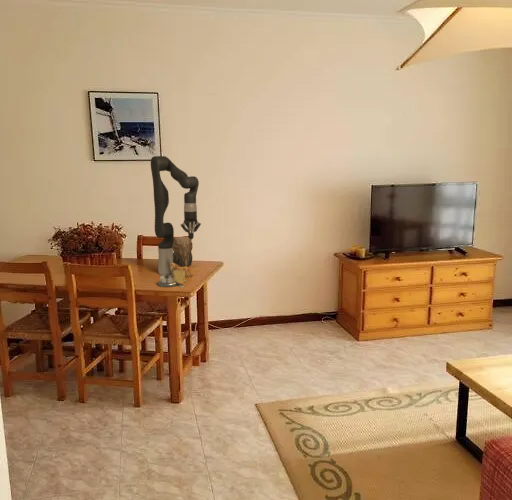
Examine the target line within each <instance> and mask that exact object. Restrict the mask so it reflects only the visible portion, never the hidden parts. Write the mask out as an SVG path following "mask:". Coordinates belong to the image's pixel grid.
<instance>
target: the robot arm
mask: <svg viewBox="0 0 512 500" xmlns="http://www.w3.org/2000/svg"><path fill="white" fill-rule="evenodd" d="M150 171H151V178H152V186H153V201H154V233H155V235H156V238H158V239H162V240H161V241H159V243H157V249H158V251H157V252H158V259H157V271H158V275H166V274H165V273H168V274H170V275H172V274H174V272H173V271H172V270H171V269H170V264H171V263H173V252H174V251H173V242H174V237H175V236H174V234H175V232H174V226H173V224H172V223H171V222H164V217H165V213H166V211H167V209H168V206H169V204H170V198H169V197H170V196H169V190H168V188H167V186H165V184H164V182H163V180H162V178H161V172H165V171H166V172H168V173H170V174H169V175H170V176H171V178H173V180H174V181H176V182H177V183H179V186H181V188H182V189H184V190H187V189H189V191H188V192H186V193H184V195H183V203H184V204H183V216H184V219H183V222H182V223H181V224H180V227H181V228H182V230H183V231H184V232H186V233H187V234H188V235H187V237H188V238H189V239H192V240H193V239H194V233H196V232H197V231H198V230H199V228H200V227H201V225H202V223H200V222H199V221H198V218H197V217H198V213H197V212H198V210H197V209H198V207H197V206H198V205H197V193H198V190H199V184H200V183H199V179H198V178H197V176H192V175H191V176H188V173H186V172H185V171H184V170H182V169H180V168H179V167H177V166H176V165H175V164H174V162H173V161H171V159H170V158H169V157H168V156H165V155H155V156H152V157H151V158H150Z"/></svg>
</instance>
